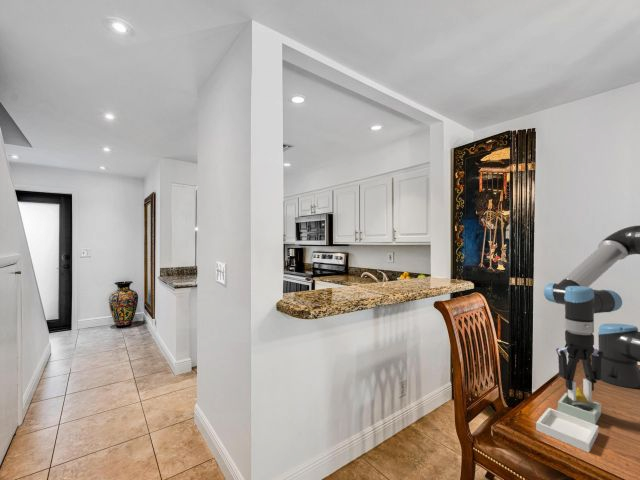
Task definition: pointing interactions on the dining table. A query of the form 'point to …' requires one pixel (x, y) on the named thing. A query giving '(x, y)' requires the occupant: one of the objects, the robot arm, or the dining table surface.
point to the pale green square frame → (579, 410)
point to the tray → (568, 429)
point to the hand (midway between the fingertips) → (579, 398)
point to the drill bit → (581, 401)
